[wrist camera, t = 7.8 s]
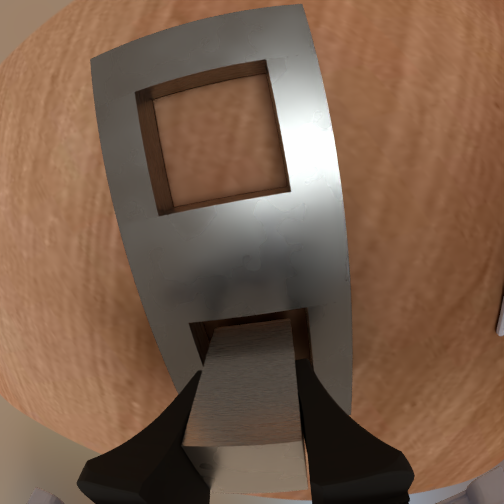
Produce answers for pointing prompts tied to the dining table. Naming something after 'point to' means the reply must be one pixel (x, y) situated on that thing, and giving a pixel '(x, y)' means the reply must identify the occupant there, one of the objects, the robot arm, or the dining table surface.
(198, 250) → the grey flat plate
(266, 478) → the grey square peg
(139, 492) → the robot arm
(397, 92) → the dining table surface
